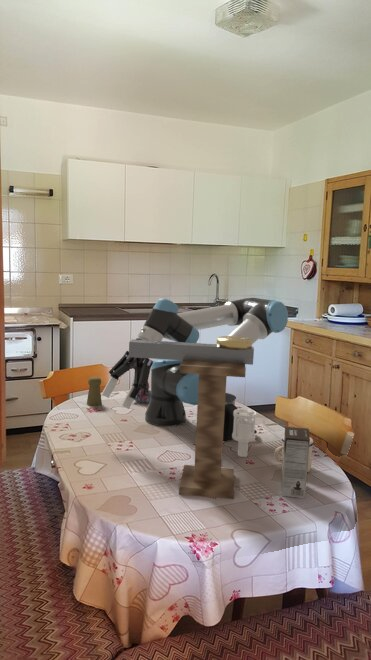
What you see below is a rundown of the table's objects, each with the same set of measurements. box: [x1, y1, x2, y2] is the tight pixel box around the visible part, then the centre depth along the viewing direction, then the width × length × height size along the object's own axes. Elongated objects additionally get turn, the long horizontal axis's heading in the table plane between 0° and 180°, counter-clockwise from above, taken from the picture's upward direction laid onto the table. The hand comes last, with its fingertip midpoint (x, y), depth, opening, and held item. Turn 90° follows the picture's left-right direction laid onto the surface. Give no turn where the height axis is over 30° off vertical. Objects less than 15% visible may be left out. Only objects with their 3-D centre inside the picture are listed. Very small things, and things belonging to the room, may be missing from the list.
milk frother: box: [223, 392, 257, 442], centre depth 172 cm, size 14×16×15 cm
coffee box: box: [280, 426, 310, 499], centre depth 133 cm, size 9×6×16 cm
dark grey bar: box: [128, 335, 255, 366], centre depth 131 cm, size 32×9×6 cm, turn 85°
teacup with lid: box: [274, 435, 315, 473], centre depth 148 cm, size 12×9×12 cm
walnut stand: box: [178, 360, 247, 500], centre depth 133 cm, size 16×16×34 cm
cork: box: [86, 376, 102, 407], centre depth 203 cm, size 6×6×11 cm
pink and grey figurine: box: [131, 381, 151, 404], centre depth 211 cm, size 11×11×12 cm
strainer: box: [232, 408, 257, 458], centre depth 156 cm, size 7×7×15 cm
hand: (114, 401), depth 159 cm, fingers open, 13 cm apart
